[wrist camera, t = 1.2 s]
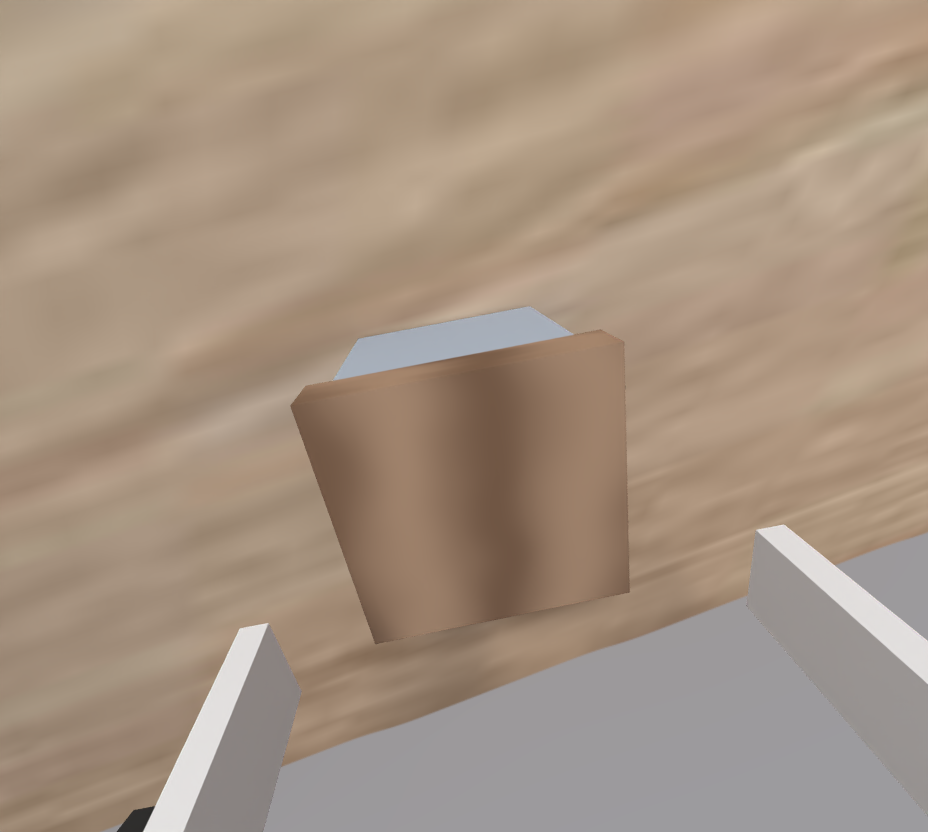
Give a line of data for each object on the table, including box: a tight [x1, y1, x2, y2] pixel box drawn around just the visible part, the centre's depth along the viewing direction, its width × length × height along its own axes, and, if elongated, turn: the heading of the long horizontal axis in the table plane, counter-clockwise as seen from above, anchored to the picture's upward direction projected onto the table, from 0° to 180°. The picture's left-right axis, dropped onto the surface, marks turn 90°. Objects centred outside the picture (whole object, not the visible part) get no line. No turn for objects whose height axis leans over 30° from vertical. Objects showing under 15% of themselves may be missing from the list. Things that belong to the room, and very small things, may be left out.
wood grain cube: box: [291, 330, 630, 644], centre depth 17 cm, size 11×11×3 cm
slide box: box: [333, 306, 574, 381], centre depth 21 cm, size 9×11×7 cm
